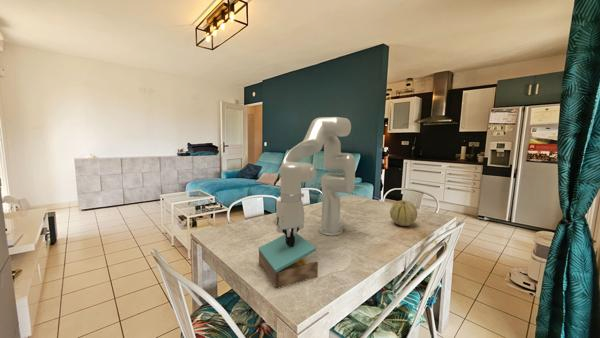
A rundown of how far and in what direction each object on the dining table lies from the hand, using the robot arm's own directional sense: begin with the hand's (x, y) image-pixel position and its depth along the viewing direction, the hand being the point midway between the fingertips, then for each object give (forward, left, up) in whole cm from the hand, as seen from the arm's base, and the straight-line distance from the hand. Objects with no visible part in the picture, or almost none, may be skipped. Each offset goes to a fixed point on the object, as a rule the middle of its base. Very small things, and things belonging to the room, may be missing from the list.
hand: (290, 245), depth 92 cm
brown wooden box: (+1, 0, -10) cm, 10 cm away
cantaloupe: (-80, -15, -10) cm, 82 cm away
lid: (+1, 0, -2) cm, 2 cm away
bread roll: (-3, -1, -10) cm, 11 cm away
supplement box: (-19, -48, -10) cm, 53 cm away
